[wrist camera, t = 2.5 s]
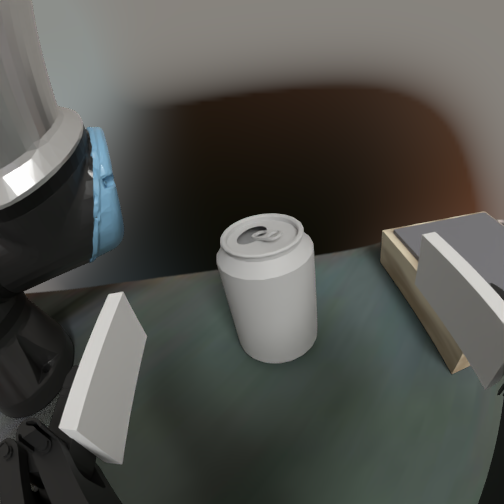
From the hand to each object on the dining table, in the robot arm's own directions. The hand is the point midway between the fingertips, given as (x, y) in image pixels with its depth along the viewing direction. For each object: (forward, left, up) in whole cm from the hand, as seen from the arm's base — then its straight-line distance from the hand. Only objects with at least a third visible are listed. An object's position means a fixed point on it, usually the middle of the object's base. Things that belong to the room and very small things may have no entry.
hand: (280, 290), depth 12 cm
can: (-9, +5, -15) cm, 18 cm away
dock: (+3, +25, -14) cm, 29 cm away
